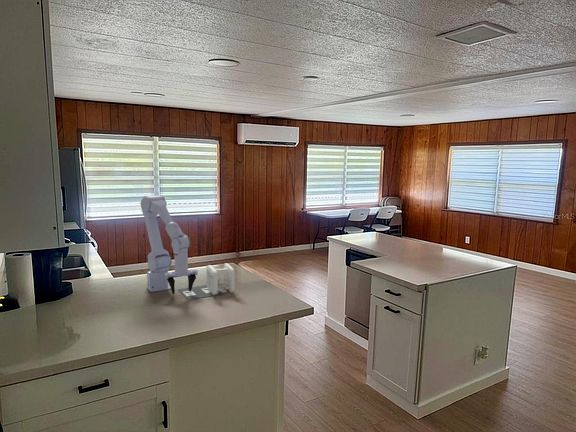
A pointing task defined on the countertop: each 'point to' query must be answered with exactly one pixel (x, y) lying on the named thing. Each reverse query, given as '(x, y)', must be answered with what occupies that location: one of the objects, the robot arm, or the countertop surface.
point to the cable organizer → (220, 278)
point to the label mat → (197, 292)
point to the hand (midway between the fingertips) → (181, 291)
